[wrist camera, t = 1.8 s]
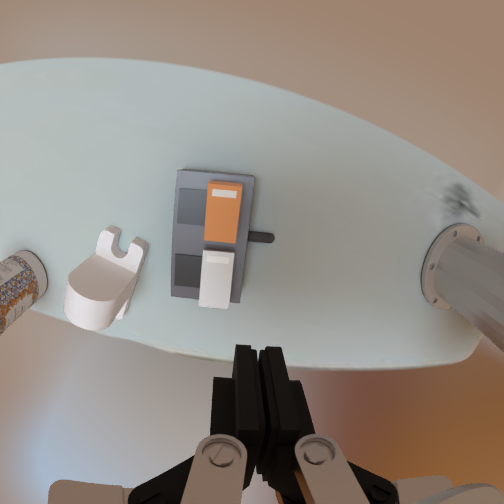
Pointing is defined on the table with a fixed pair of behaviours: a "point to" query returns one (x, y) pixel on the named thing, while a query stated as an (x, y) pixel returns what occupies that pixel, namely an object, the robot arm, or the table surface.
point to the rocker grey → (216, 278)
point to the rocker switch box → (193, 225)
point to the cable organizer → (104, 282)
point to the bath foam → (19, 286)
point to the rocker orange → (222, 211)
